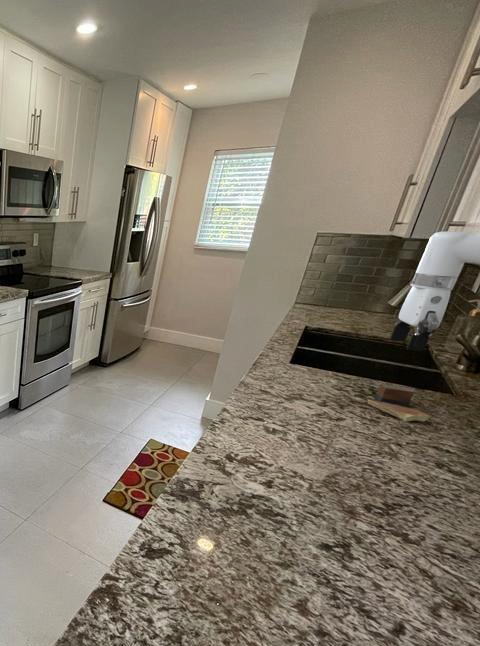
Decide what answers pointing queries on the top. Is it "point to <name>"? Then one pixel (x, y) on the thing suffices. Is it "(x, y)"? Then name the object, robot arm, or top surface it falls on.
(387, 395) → the eraser
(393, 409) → the shard
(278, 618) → the top surface
